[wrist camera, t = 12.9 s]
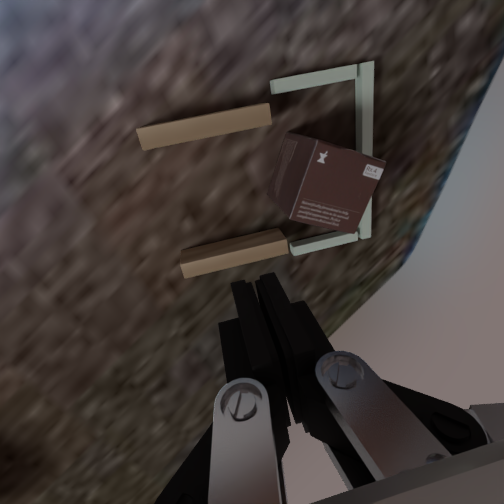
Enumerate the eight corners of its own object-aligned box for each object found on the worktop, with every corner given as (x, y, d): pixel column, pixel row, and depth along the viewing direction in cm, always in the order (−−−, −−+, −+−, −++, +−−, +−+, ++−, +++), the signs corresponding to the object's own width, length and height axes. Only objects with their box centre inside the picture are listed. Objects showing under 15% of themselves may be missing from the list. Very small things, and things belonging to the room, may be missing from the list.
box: (264, 194, 29) (286, 220, 22) (285, 129, 27) (316, 137, 20) (319, 208, 31) (355, 236, 24) (343, 149, 28) (389, 162, 22)
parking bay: (269, 80, 25) (273, 79, 24) (366, 62, 25) (374, 60, 24) (290, 250, 32) (294, 255, 31) (365, 232, 33) (370, 237, 32)
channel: (141, 126, 24) (136, 129, 22) (260, 103, 25) (269, 103, 23) (185, 263, 30) (184, 278, 28) (279, 240, 31) (288, 253, 29)
